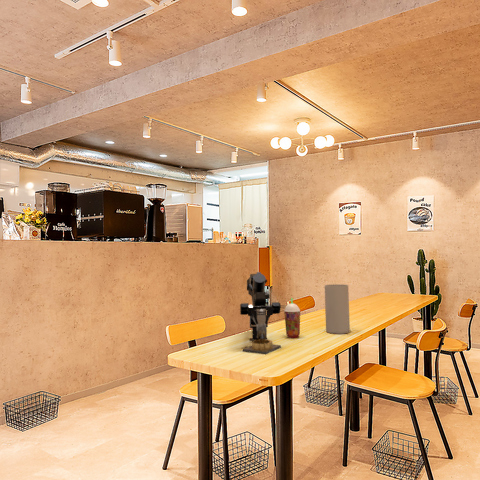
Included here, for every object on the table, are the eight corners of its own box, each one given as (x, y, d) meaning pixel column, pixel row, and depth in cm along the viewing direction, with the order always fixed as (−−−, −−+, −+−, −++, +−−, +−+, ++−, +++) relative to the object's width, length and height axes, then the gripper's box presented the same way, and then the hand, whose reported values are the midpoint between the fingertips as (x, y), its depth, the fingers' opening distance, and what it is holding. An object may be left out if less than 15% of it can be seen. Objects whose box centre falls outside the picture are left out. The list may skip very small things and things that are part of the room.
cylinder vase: (325, 329, 227) (324, 284, 228) (348, 329, 225) (347, 284, 225) (326, 334, 215) (324, 286, 216) (350, 334, 213) (349, 286, 213)
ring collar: (258, 344, 195) (258, 337, 195) (280, 347, 188) (280, 339, 188) (242, 351, 183) (242, 343, 183) (265, 354, 176) (265, 346, 177)
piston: (264, 336, 189) (263, 307, 189) (268, 338, 184) (267, 309, 185) (255, 337, 187) (254, 308, 188) (258, 339, 183) (258, 310, 183)
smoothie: (283, 338, 208) (281, 298, 208) (287, 334, 216) (285, 297, 216) (299, 339, 205) (298, 299, 205) (302, 335, 213) (301, 297, 213)
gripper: (239, 286, 190) (241, 313, 179) (279, 284, 191) (283, 312, 179) (239, 300, 198) (241, 328, 186) (277, 299, 198) (281, 326, 187)
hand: (261, 323), depth 185 cm, fingers closed on piston, 4 cm apart
